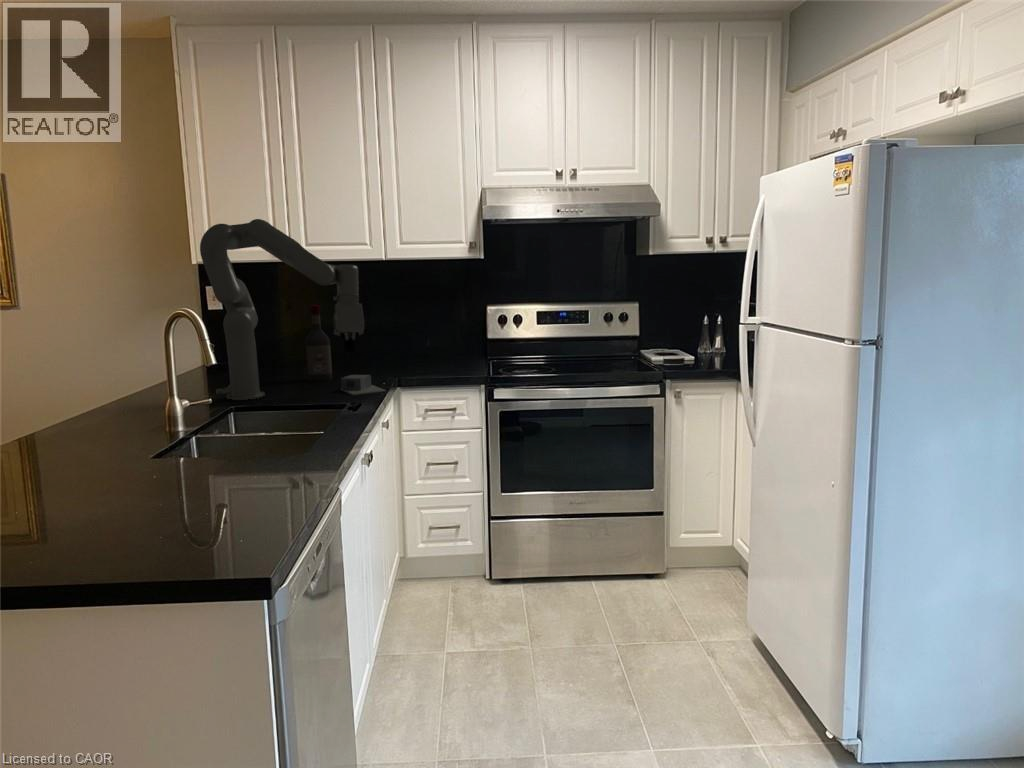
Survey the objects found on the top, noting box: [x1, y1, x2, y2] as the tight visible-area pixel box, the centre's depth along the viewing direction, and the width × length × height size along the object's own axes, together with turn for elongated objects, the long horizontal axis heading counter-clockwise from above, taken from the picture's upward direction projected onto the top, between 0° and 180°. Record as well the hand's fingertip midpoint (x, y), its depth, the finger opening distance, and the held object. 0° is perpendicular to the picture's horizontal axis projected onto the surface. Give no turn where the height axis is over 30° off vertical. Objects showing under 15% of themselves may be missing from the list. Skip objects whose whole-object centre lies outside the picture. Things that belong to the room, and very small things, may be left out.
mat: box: [340, 384, 387, 396], centre depth 254 cm, size 12×14×1 cm
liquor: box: [304, 304, 333, 383], centre depth 279 cm, size 9×9×30 cm
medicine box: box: [340, 374, 372, 391], centre depth 256 cm, size 8×4×9 cm
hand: (349, 350), depth 249 cm, fingers closed
